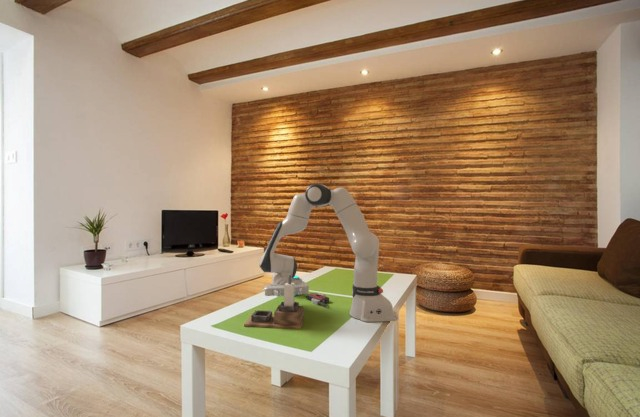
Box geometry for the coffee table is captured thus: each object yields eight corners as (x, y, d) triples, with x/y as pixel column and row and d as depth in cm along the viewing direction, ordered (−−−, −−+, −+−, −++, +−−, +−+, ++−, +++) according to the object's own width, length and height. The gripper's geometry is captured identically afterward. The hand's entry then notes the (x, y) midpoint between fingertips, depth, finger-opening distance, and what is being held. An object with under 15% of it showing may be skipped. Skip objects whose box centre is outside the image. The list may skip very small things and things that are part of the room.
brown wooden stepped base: (304, 317, 145) (304, 300, 145) (300, 329, 132) (300, 309, 132) (252, 315, 147) (252, 298, 147) (244, 326, 134) (244, 307, 134)
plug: (294, 307, 141) (295, 273, 141) (292, 311, 136) (293, 275, 136) (285, 307, 141) (286, 273, 141) (283, 310, 137) (284, 275, 137)
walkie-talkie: (302, 300, 174) (327, 309, 159) (302, 292, 174) (327, 300, 159) (314, 297, 179) (339, 306, 165) (314, 289, 179) (340, 297, 165)
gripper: (262, 280, 150) (265, 288, 136) (304, 278, 155) (311, 285, 142) (262, 293, 150) (265, 302, 136) (304, 291, 155) (311, 299, 142)
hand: (289, 293), depth 139 cm, fingers open, 8 cm apart
